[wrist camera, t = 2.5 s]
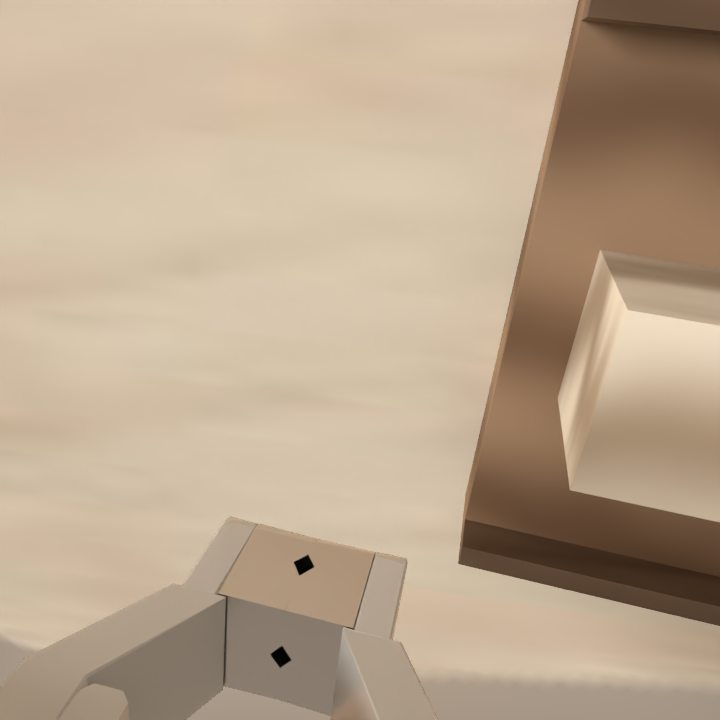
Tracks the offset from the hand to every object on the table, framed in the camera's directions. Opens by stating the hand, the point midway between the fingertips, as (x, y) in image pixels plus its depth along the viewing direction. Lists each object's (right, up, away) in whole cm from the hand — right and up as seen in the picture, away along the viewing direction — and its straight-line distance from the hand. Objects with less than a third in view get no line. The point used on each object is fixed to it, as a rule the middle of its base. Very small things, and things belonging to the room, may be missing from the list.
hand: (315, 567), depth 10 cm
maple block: (+10, +4, +9) cm, 14 cm away
